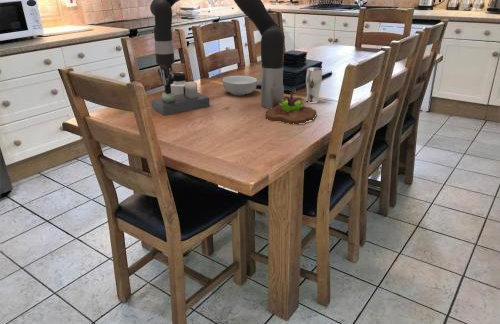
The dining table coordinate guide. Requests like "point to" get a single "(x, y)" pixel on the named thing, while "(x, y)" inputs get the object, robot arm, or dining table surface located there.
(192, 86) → the whitish grey jar
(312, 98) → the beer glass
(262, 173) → the dining table surface
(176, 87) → the medicine bottle
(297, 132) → the dining table surface
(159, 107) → the mount
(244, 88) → the cereal bowl
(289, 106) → the plant
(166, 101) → the knob
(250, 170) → the dining table surface
